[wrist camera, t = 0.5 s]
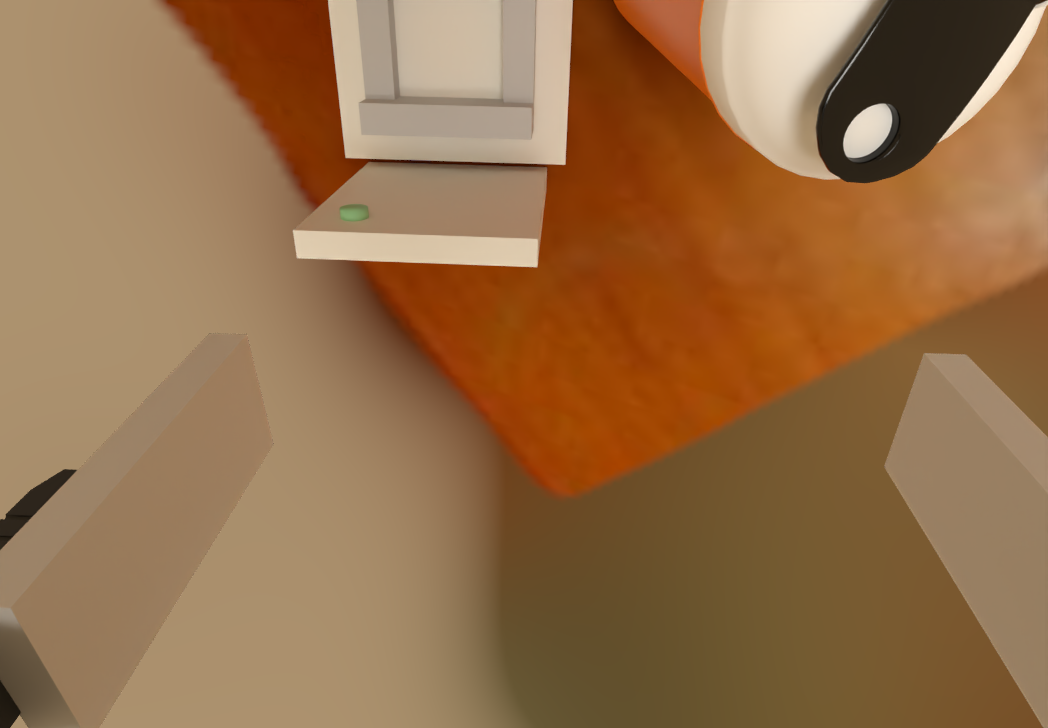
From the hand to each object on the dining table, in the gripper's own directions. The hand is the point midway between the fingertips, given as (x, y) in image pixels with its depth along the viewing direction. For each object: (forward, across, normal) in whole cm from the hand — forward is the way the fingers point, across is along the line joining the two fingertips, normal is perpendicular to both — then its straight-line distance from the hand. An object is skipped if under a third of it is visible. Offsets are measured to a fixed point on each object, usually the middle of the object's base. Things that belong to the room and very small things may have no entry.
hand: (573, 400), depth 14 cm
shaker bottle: (+26, +5, +8) cm, 28 cm away
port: (+27, -6, +4) cm, 28 cm away
